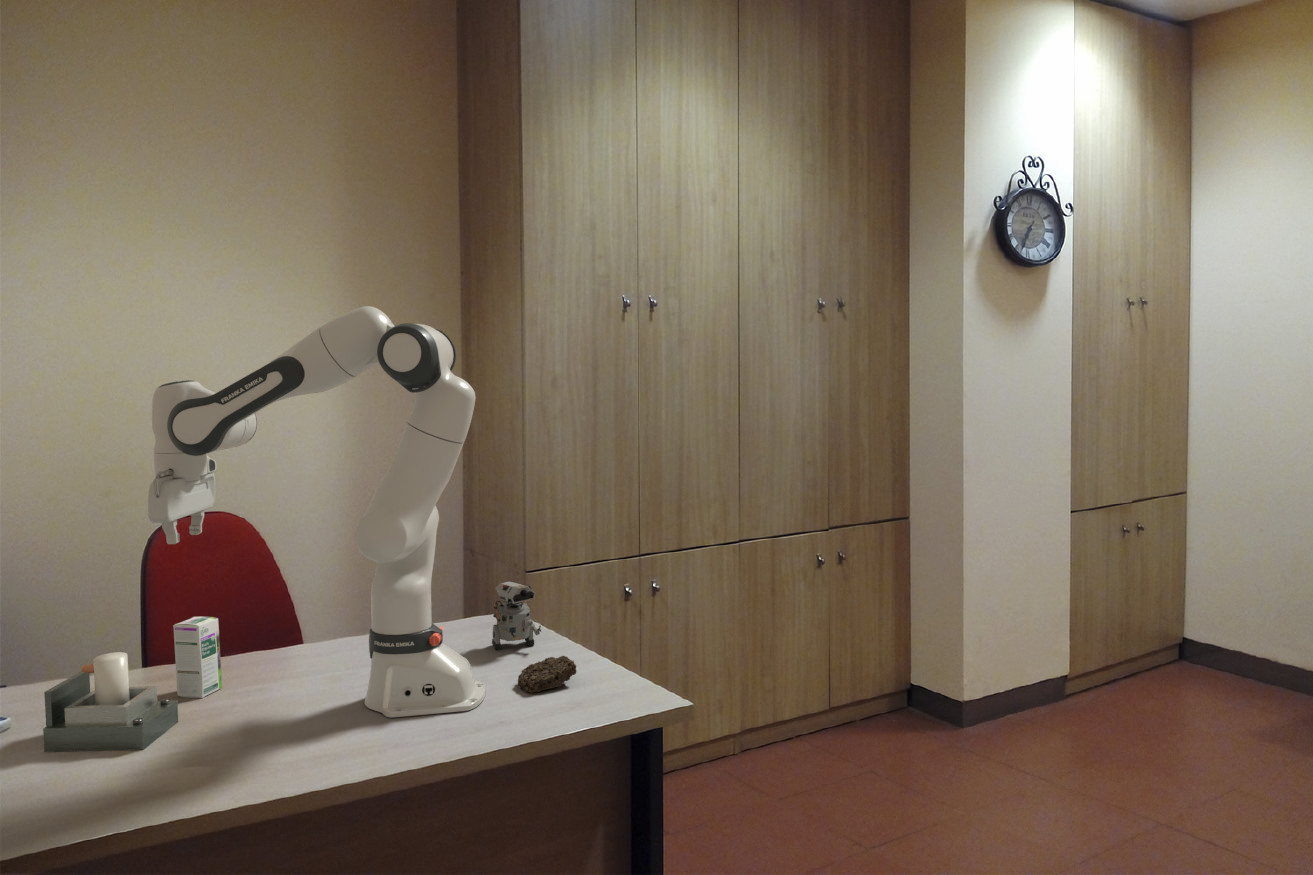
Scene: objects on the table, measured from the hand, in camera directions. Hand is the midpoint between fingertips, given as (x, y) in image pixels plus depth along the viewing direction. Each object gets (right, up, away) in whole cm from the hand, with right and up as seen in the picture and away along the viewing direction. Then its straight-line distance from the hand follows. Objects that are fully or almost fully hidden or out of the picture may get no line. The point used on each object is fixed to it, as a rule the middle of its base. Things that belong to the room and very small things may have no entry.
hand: (184, 538), depth 171 cm
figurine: (+58, -29, +33) cm, 73 cm away
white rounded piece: (-5, -28, -16) cm, 33 cm away
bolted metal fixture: (-4, -32, -16) cm, 36 cm away
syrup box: (0, -31, +5) cm, 31 cm away
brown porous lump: (+68, -31, +9) cm, 75 cm away
